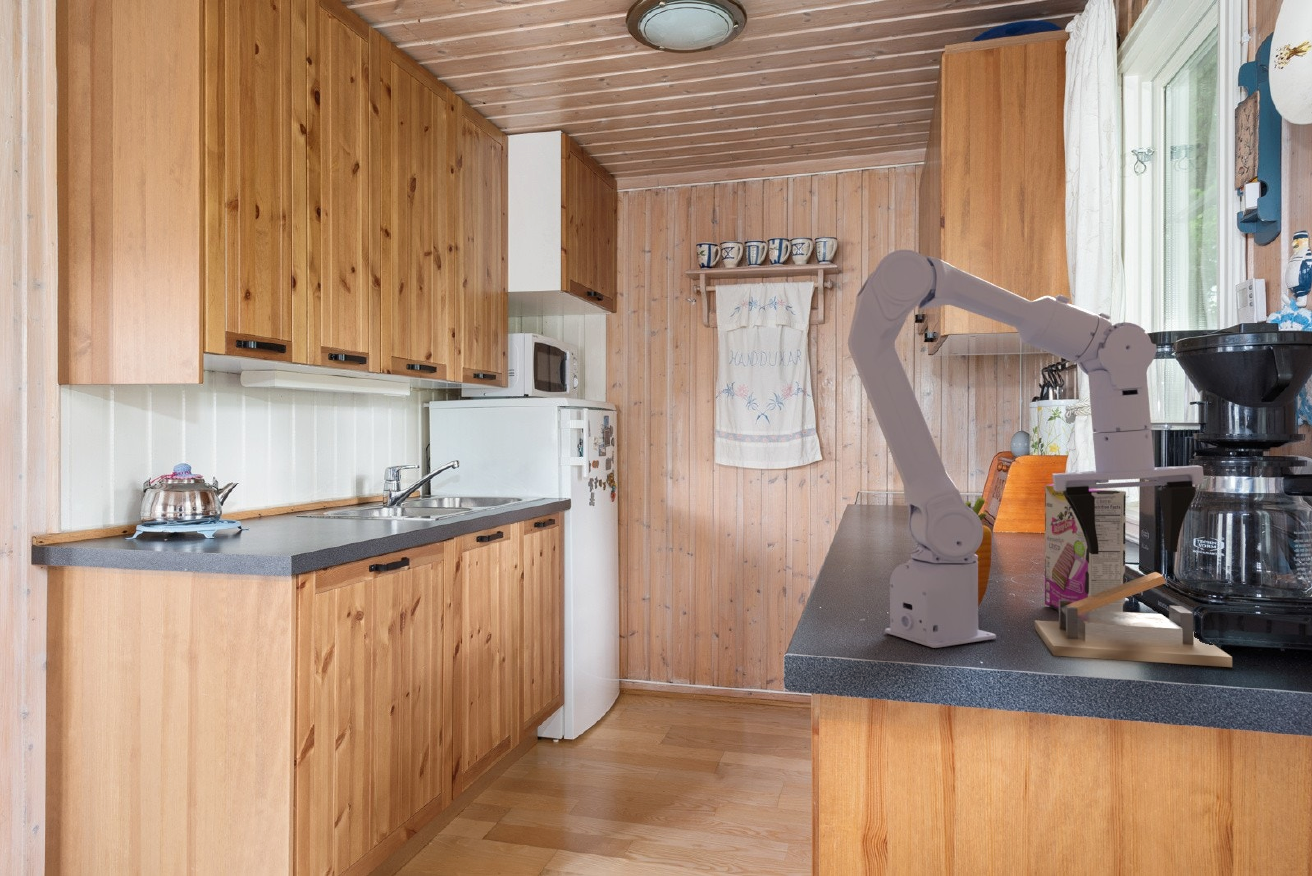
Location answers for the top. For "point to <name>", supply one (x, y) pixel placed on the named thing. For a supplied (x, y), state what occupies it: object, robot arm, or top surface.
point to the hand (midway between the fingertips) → (1131, 551)
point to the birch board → (1130, 649)
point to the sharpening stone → (1129, 627)
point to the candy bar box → (1084, 549)
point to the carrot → (983, 552)
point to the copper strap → (1117, 593)
